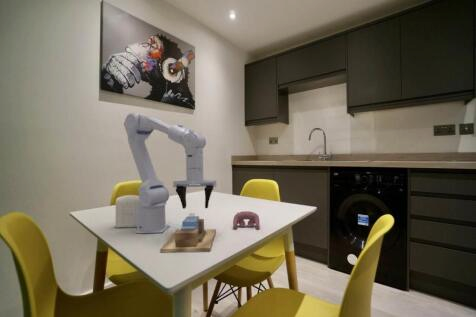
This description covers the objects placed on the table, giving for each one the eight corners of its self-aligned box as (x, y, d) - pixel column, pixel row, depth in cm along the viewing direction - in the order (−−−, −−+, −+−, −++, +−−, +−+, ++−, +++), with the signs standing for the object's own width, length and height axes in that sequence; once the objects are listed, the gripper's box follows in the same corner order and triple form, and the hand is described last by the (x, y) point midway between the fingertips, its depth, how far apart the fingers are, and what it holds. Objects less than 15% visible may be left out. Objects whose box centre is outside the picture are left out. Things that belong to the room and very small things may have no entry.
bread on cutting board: (160, 252, 61) (159, 234, 61) (176, 232, 77) (176, 218, 77) (210, 251, 61) (209, 233, 61) (215, 232, 77) (215, 217, 77)
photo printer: (145, 224, 88) (144, 193, 88) (141, 227, 84) (140, 195, 84) (119, 225, 87) (118, 194, 87) (113, 228, 83) (113, 196, 83)
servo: (181, 244, 64) (180, 219, 64) (188, 232, 74) (188, 211, 74) (194, 243, 64) (193, 219, 64) (200, 232, 74) (200, 211, 74)
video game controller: (259, 231, 81) (259, 212, 84) (259, 229, 77) (259, 209, 80) (233, 230, 82) (234, 212, 85) (232, 229, 78) (232, 209, 81)
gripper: (169, 169, 70) (170, 211, 70) (214, 168, 70) (215, 210, 70) (176, 168, 77) (177, 206, 77) (216, 167, 77) (217, 205, 77)
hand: (195, 207), depth 74 cm, fingers open, 7 cm apart
